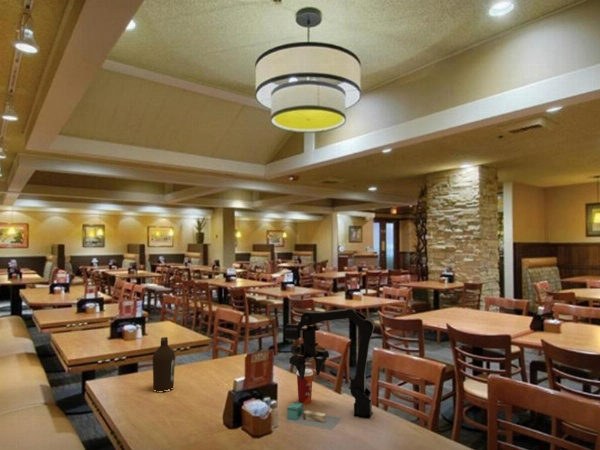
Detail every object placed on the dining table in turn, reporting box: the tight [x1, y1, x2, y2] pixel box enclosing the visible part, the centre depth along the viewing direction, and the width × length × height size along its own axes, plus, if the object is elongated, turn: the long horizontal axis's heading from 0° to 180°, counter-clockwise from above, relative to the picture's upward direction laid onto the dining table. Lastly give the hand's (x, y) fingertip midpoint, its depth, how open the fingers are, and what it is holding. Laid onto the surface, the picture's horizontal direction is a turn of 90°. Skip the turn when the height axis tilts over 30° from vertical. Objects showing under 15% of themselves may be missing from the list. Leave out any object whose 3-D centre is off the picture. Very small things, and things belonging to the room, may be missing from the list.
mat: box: [284, 414, 343, 431], centre depth 168 cm, size 20×12×1 cm, turn 66°
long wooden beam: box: [303, 409, 327, 423], centre depth 168 cm, size 9×3×3 cm, turn 66°
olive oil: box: [152, 336, 176, 391], centre depth 206 cm, size 11×11×25 cm
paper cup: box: [295, 368, 314, 405], centre depth 188 cm, size 8×8×14 cm
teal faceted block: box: [286, 401, 304, 420], centre depth 171 cm, size 4×7×4 cm, turn 156°
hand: (310, 377), depth 180 cm, fingers open, 9 cm apart
